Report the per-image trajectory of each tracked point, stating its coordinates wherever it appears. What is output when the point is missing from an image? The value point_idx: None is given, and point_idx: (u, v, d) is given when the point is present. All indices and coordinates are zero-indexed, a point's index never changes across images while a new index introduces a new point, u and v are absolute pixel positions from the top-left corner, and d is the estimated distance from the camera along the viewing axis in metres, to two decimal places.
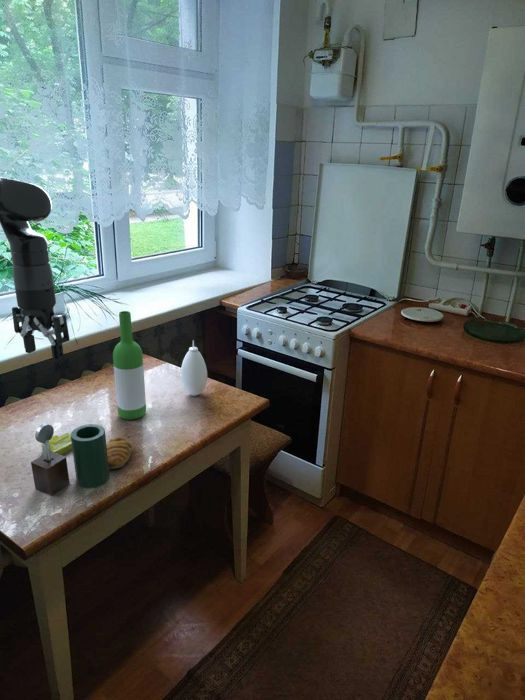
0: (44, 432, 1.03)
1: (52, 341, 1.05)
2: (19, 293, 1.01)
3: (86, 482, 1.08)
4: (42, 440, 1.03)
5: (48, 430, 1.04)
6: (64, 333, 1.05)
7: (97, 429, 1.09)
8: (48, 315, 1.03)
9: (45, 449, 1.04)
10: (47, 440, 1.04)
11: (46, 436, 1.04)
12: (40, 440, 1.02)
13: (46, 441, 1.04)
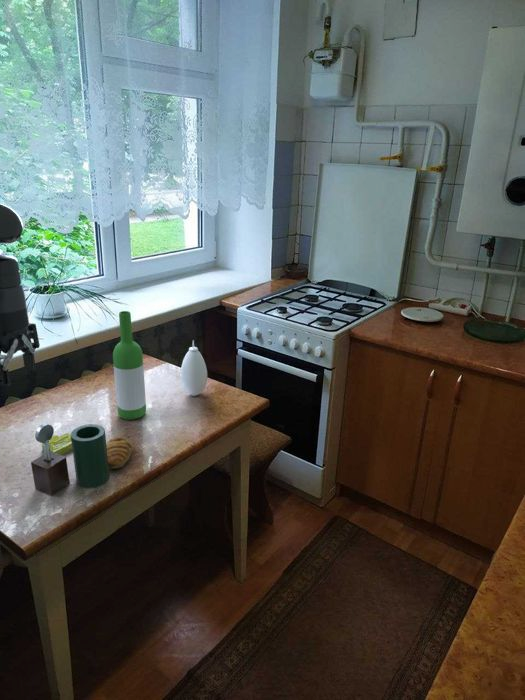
0: (44, 432, 1.03)
1: None
2: None
3: (86, 482, 1.08)
4: (42, 440, 1.03)
5: (48, 430, 1.04)
6: None
7: (97, 429, 1.09)
8: None
9: (45, 449, 1.04)
10: (47, 440, 1.04)
11: (46, 436, 1.04)
12: (40, 440, 1.02)
13: (46, 441, 1.04)
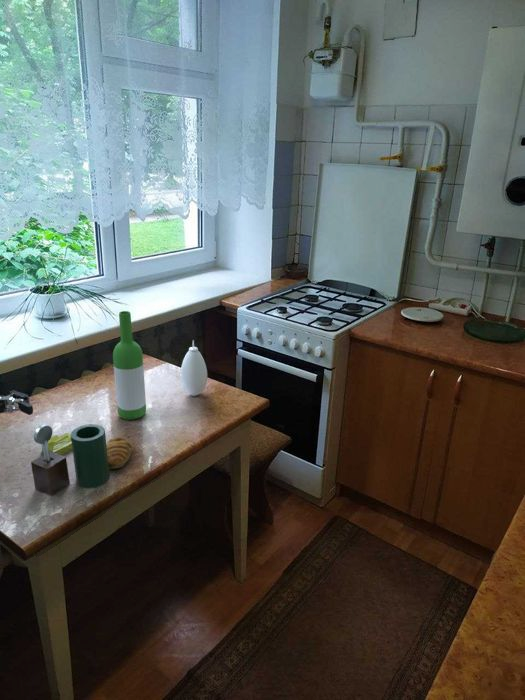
0: (43, 433, 1.03)
1: None
2: None
3: (86, 482, 1.08)
4: (41, 441, 1.03)
5: (47, 431, 1.04)
6: None
7: (97, 429, 1.09)
8: None
9: (44, 449, 1.04)
10: (46, 441, 1.04)
11: (45, 437, 1.03)
12: (39, 441, 1.02)
13: (45, 442, 1.04)
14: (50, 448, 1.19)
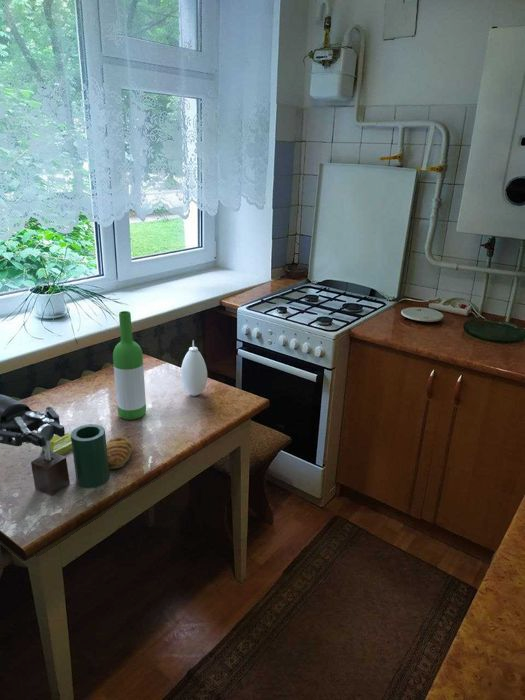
0: (45, 432, 1.03)
1: None
2: None
3: (86, 482, 1.08)
4: None
5: (49, 431, 1.04)
6: None
7: (97, 429, 1.09)
8: None
9: (45, 449, 1.04)
10: (48, 440, 1.04)
11: (47, 436, 1.04)
12: None
13: (47, 441, 1.04)
14: None
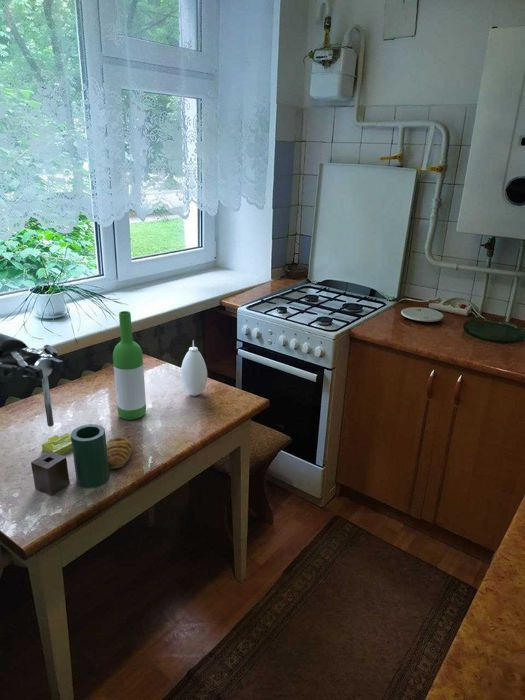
0: (43, 366, 0.98)
1: None
2: None
3: (86, 482, 1.08)
4: None
5: (47, 365, 0.99)
6: None
7: (97, 429, 1.09)
8: None
9: (43, 384, 0.99)
10: (46, 375, 0.99)
11: (45, 371, 0.99)
12: None
13: (45, 376, 0.99)
14: (50, 448, 1.19)
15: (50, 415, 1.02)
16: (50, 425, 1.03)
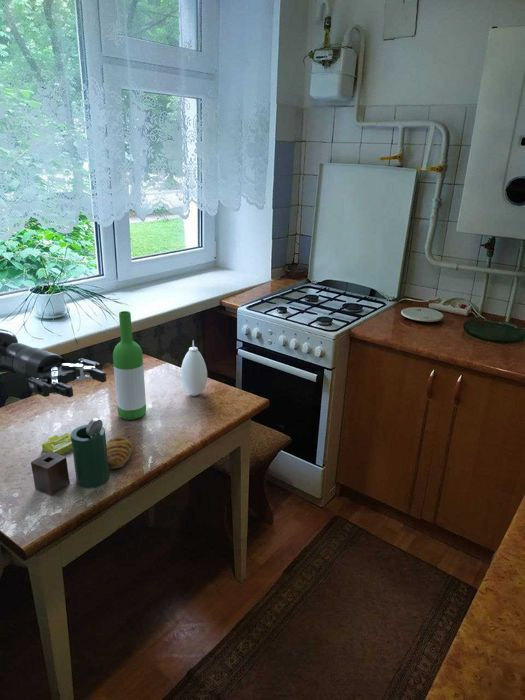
0: (94, 427, 1.05)
1: None
2: None
3: (86, 482, 1.08)
4: (91, 434, 1.05)
5: (98, 425, 1.06)
6: None
7: None
8: None
9: None
10: (95, 434, 1.06)
11: (95, 430, 1.06)
12: (90, 434, 1.05)
13: (95, 435, 1.06)
14: (50, 448, 1.19)
15: None
16: None
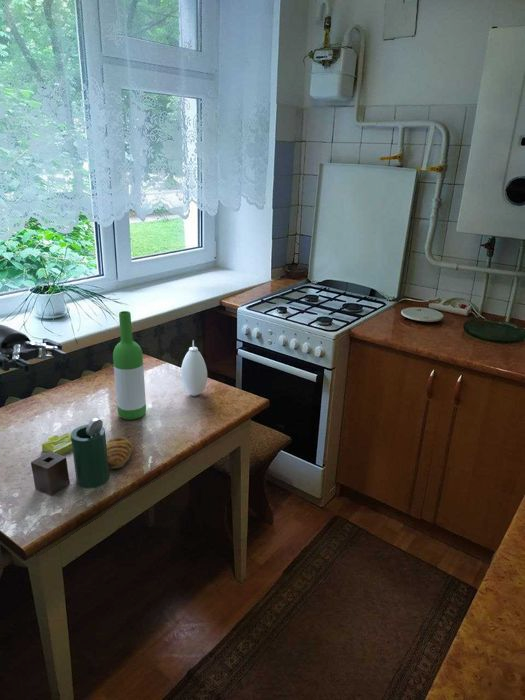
0: (94, 427, 1.05)
1: None
2: None
3: (86, 482, 1.08)
4: (91, 434, 1.05)
5: (98, 425, 1.06)
6: None
7: None
8: None
9: None
10: (95, 434, 1.06)
11: (95, 430, 1.06)
12: (90, 434, 1.05)
13: (95, 435, 1.06)
14: (50, 448, 1.19)
15: None
16: None
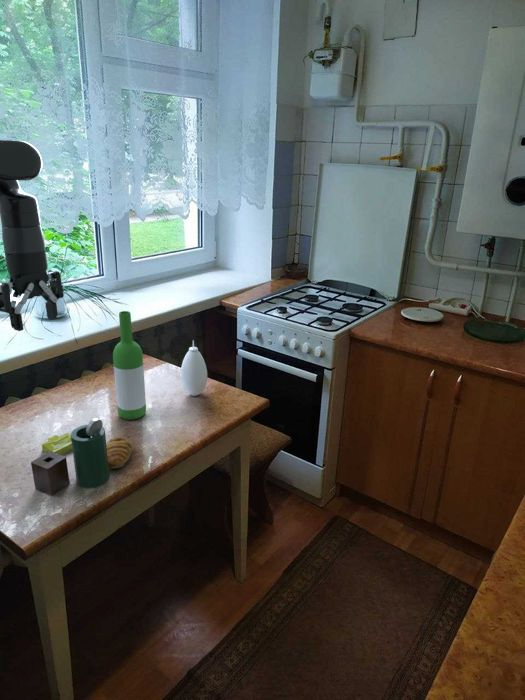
0: (94, 427, 1.05)
1: None
2: None
3: (86, 482, 1.08)
4: (91, 434, 1.05)
5: (98, 425, 1.06)
6: None
7: None
8: None
9: None
10: (95, 434, 1.06)
11: (95, 430, 1.06)
12: (90, 434, 1.05)
13: (95, 435, 1.06)
14: (50, 448, 1.19)
15: None
16: None
